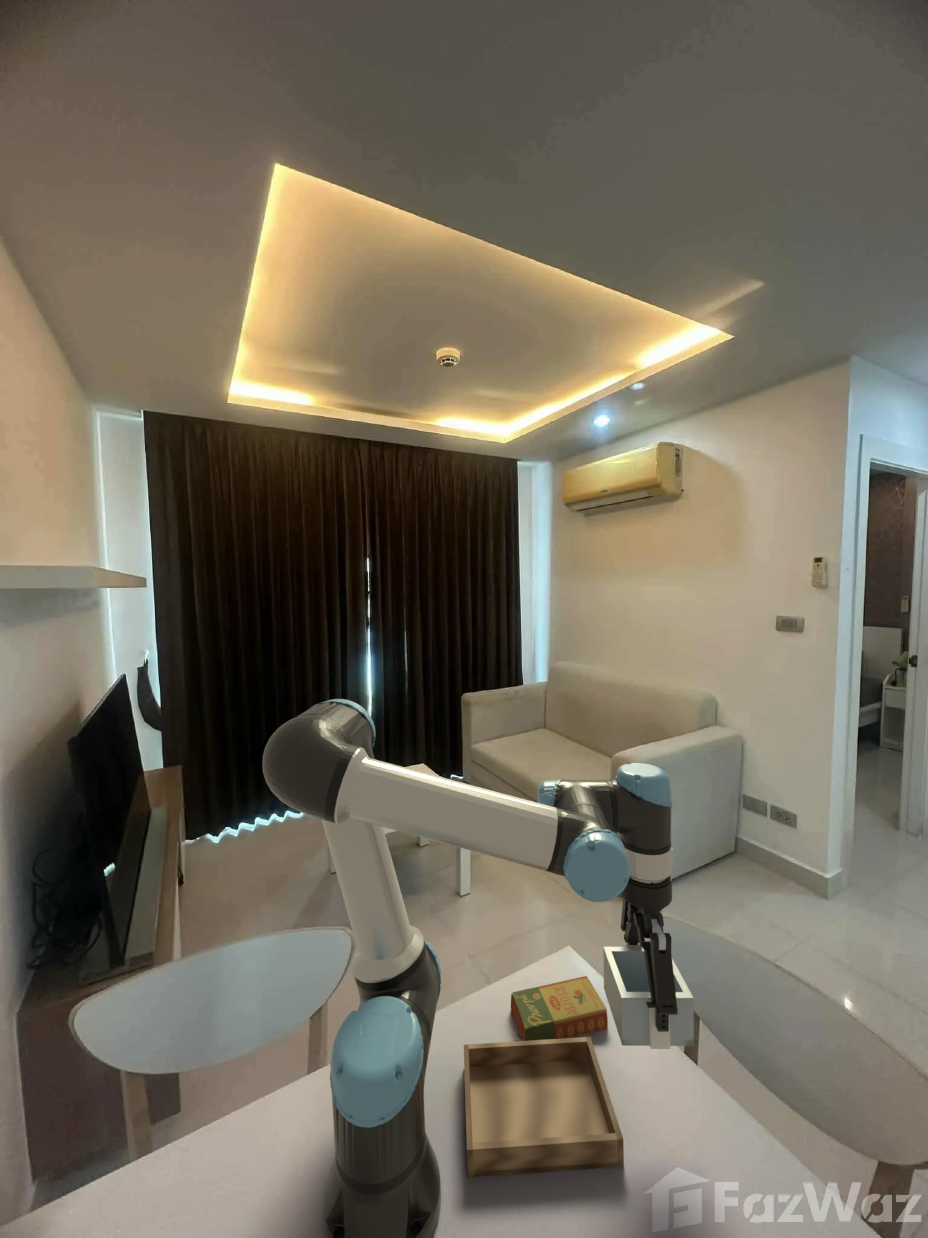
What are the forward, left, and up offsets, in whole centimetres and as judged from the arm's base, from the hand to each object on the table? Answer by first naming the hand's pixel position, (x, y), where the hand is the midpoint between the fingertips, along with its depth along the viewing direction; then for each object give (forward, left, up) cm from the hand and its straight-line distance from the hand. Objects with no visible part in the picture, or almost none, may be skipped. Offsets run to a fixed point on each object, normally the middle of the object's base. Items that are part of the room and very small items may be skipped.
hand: (646, 1013), depth 73 cm
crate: (-17, +1, -15) cm, 23 cm away
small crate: (0, 0, 0) cm, 0 cm away
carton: (-10, +17, -16) cm, 25 cm away
